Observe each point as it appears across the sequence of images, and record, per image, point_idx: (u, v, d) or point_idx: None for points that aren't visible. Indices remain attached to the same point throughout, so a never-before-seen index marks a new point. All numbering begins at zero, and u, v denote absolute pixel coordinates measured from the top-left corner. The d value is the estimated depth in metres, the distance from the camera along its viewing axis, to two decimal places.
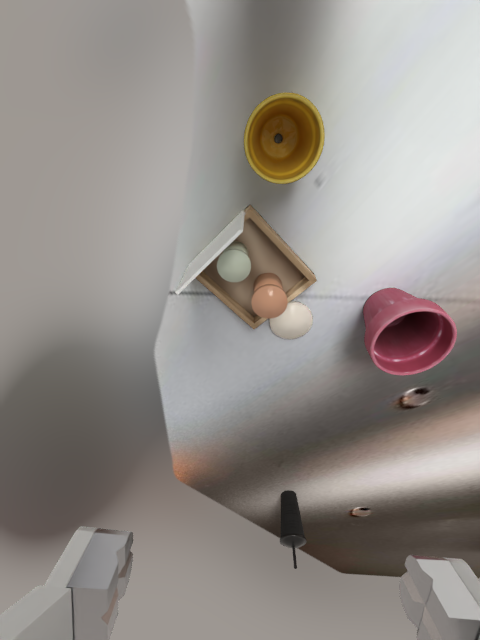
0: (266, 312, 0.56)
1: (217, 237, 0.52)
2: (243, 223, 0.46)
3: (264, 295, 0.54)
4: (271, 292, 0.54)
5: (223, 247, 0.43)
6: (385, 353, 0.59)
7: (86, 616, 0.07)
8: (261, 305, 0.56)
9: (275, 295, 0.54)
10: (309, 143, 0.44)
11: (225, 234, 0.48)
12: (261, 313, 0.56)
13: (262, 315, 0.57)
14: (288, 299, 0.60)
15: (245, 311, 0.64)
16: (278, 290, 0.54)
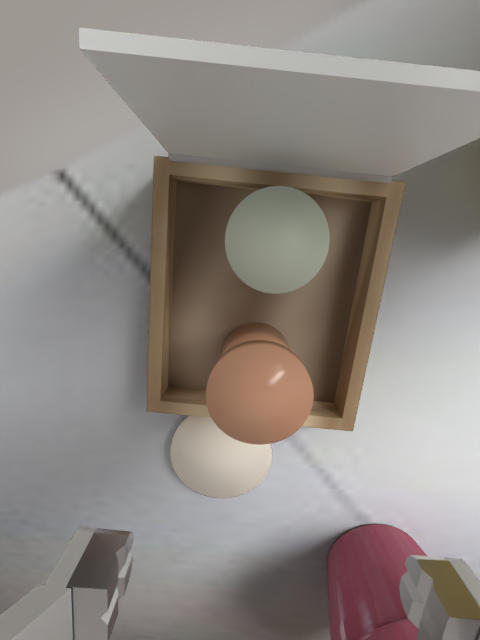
0: (229, 410, 0.19)
1: None
2: (467, 142, 0.13)
3: (270, 370, 0.18)
4: (290, 379, 0.18)
5: (447, 75, 0.09)
6: None
7: (86, 616, 0.07)
8: (238, 385, 0.18)
9: (290, 393, 0.18)
10: None
11: None
12: (217, 402, 0.19)
13: (215, 409, 0.19)
14: None
15: (167, 360, 0.25)
16: (308, 389, 0.18)
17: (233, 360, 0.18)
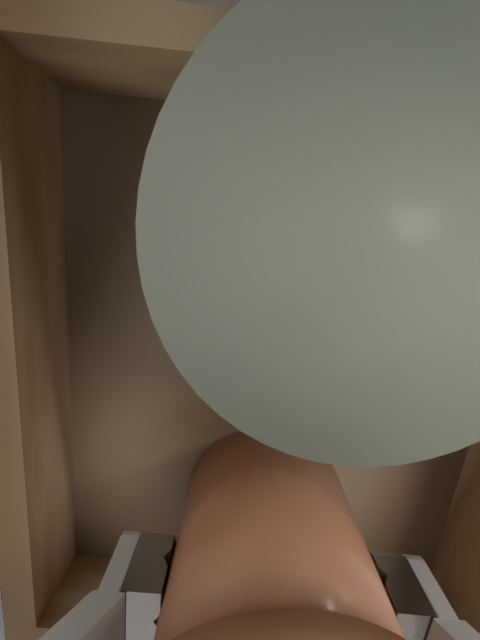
0: None
1: None
2: None
3: None
4: None
5: None
6: None
7: (138, 620, 0.07)
8: None
9: None
10: None
11: None
12: None
13: None
14: None
15: (63, 514, 0.11)
16: None
17: None
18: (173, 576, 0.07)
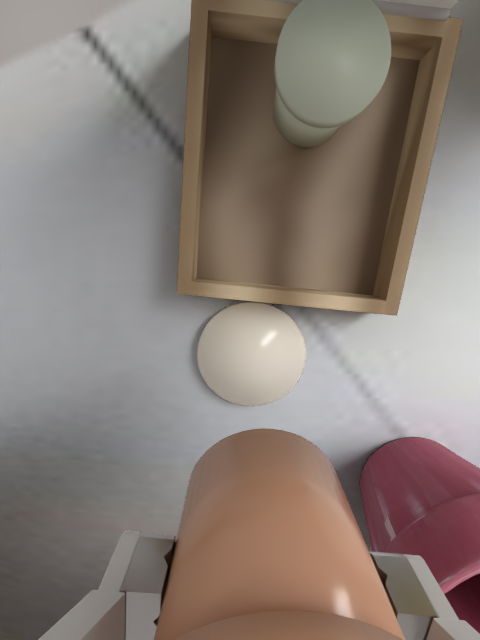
0: None
1: None
2: None
3: None
4: None
5: None
6: None
7: (138, 620, 0.07)
8: None
9: None
10: None
11: None
12: None
13: None
14: (311, 299, 0.22)
15: (197, 243, 0.23)
16: None
17: None
18: (173, 577, 0.07)
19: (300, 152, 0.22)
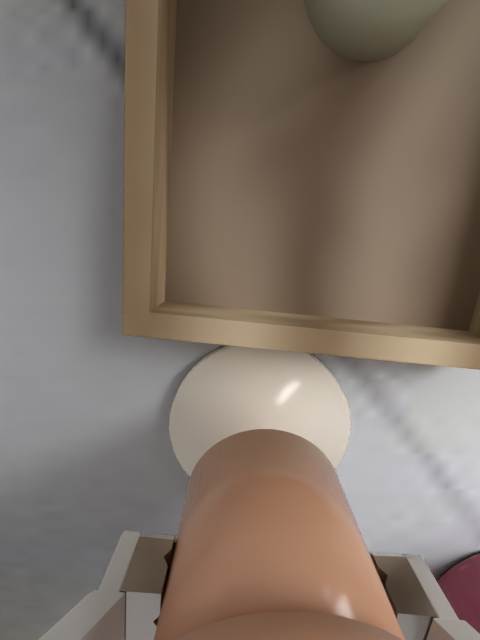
0: None
1: None
2: None
3: None
4: None
5: None
6: None
7: (138, 620, 0.07)
8: None
9: None
10: None
11: None
12: None
13: None
14: (372, 345, 0.12)
15: (163, 242, 0.13)
16: None
17: None
18: (173, 578, 0.07)
19: (353, 72, 0.12)
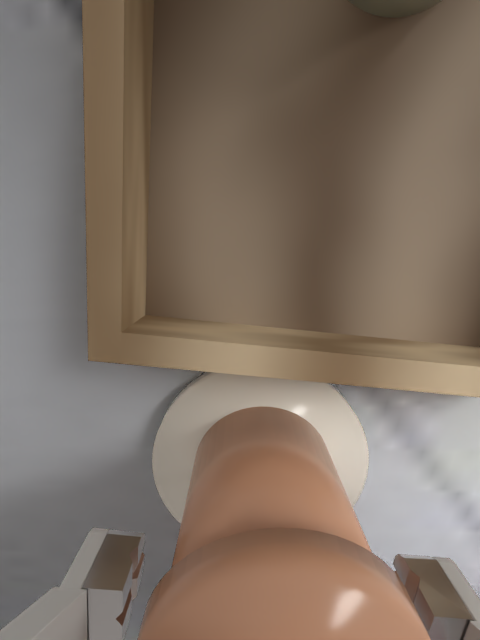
0: None
1: None
2: None
3: None
4: None
5: None
6: None
7: (101, 617, 0.07)
8: None
9: None
10: None
11: None
12: None
13: None
14: (402, 373, 0.10)
15: (141, 243, 0.10)
16: None
17: (205, 625, 0.06)
18: (186, 521, 0.09)
19: (377, 31, 0.09)
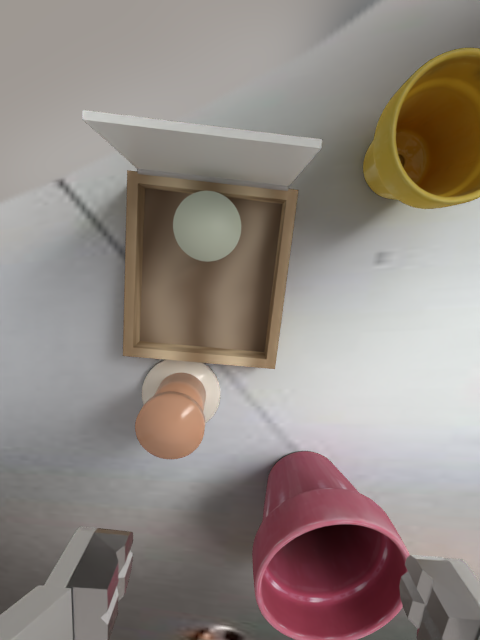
0: (151, 437, 0.29)
1: None
2: (305, 166, 0.22)
3: (175, 411, 0.29)
4: (188, 417, 0.29)
5: (263, 135, 0.18)
6: None
7: (86, 616, 0.07)
8: (155, 421, 0.29)
9: (189, 426, 0.29)
10: (446, 188, 0.27)
11: None
12: (142, 432, 0.29)
13: (141, 436, 0.29)
14: (215, 358, 0.33)
15: (138, 319, 0.33)
16: (200, 423, 0.29)
17: (151, 405, 0.28)
18: None
19: None
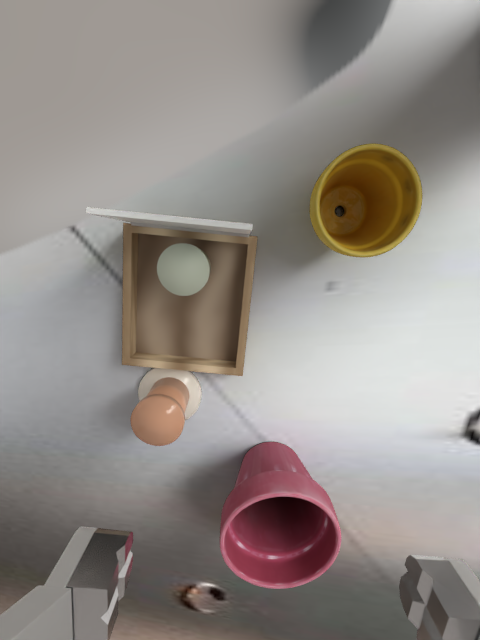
0: (143, 429, 0.38)
1: None
2: None
3: (160, 410, 0.37)
4: (171, 413, 0.37)
5: (211, 222, 0.26)
6: (235, 525, 0.40)
7: (86, 616, 0.07)
8: (146, 417, 0.37)
9: (172, 420, 0.38)
10: (370, 238, 0.34)
11: None
12: (136, 425, 0.38)
13: (135, 428, 0.38)
14: (195, 367, 0.41)
15: (134, 335, 0.42)
16: (180, 418, 0.37)
17: (143, 405, 0.37)
18: None
19: None
